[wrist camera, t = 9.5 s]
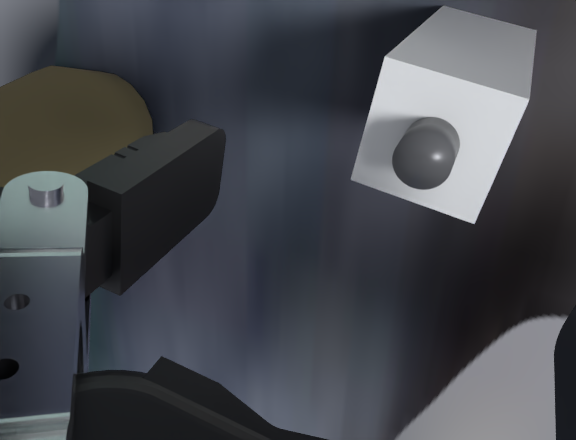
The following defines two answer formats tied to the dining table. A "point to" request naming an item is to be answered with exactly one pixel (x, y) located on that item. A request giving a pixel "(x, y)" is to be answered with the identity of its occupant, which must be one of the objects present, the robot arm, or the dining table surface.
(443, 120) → the plug
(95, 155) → the squeeze bottle
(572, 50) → the dining table surface
